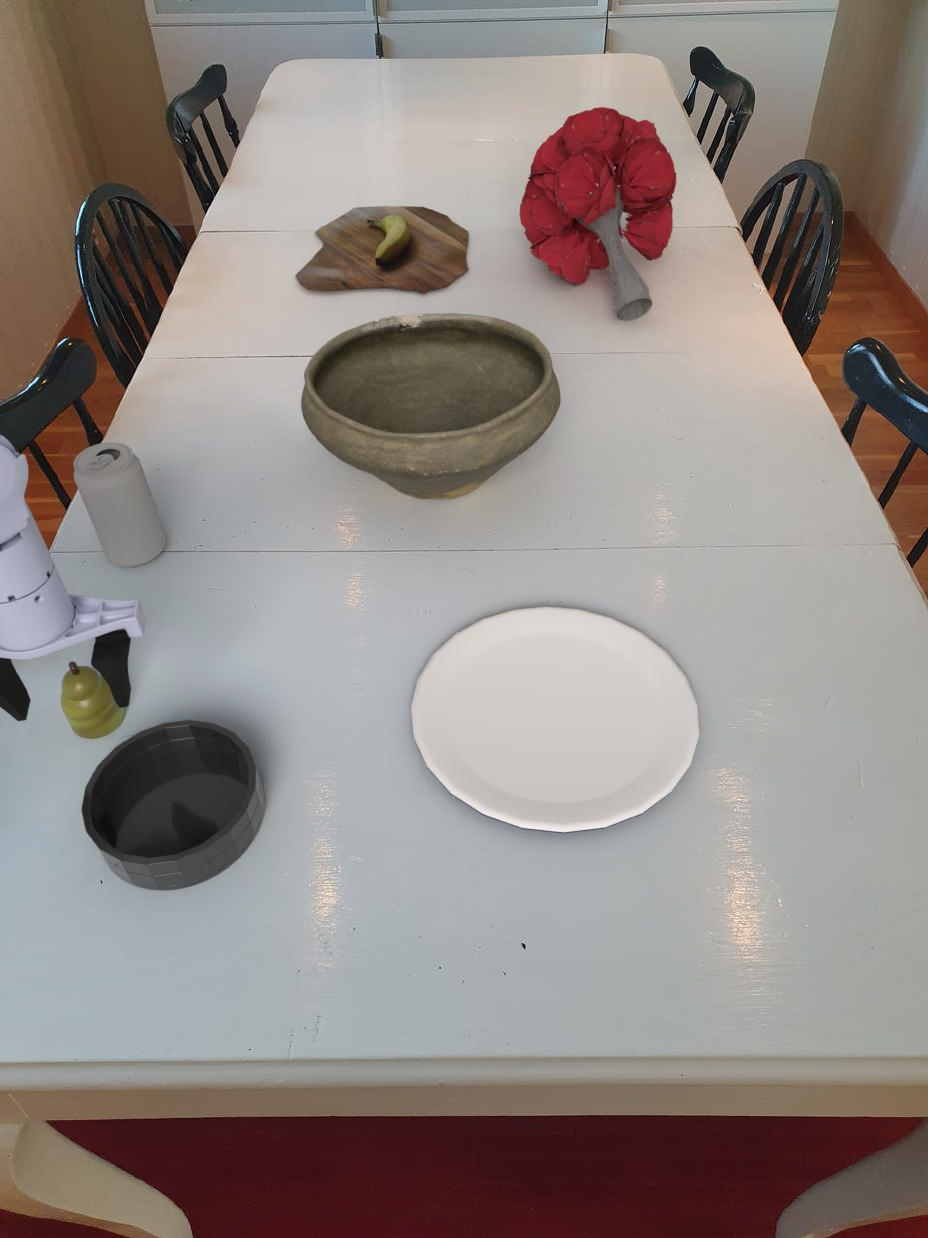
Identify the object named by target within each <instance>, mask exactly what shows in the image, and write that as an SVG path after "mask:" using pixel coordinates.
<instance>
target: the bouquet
mask: <svg viewBox="0 0 928 1238" xmlns="http://www.w3.org/2000/svg"><path fill="white" fill-rule="evenodd" d="M655 125H656V124H655V123H654V122H651V121H649V120H648V119H643V120H640V121H638V120H637V119H635V118H632V117H630V116H627V115H625V114H622V113H620V112H619V111H618V110H617V109H614V108H610V107H605V106H600V107H593V108H592V109H587V110H583V111H581V112H578V113H574V114H572V115H569V116H567V119H565V121H564V123H563V124H562V126H561V127H560V128H559V129H557V130H556V132H553V134H550V135H549V136H548V138H547V139H546V140H545V141H543V142H542V143H541V145H540V146H539V147H538V148H537V150H536V152H535V154H534V157H533V159H532V160H533V161H532V163H531V165H530V173H529V175H528V177H527V179H528V181H527V183H526V184H525V187H524V189H525V190H524V193H523V196H522V198H521V203H520V204H519V221H520V225H521V226H522V227H523V228H524V230H525V231H524V235H525V237H526V240H527V241H528V242H529V243H530V244H531V246H530V247H529V250H530V253H531V255H532V256H533V257H534V258H535V259H537V260H539V261H540V260H541V262H542V263H544V264H545V265H546V266H547V268H548V270H550V272H552V273H553V274H554V275H556V276H559V277H560V278H561V279H563V280H565V281H567V282H569V283H572V284H573V285H575V286H579V285H581V284H584V283H585V282H586V281H587V279H588V277H589V275H590V270H604V269H607V268H608V267H609V272H610V287H611V295H612V301H613V306H614V307H615V310H616V313H617V318H618V319H620V320H622V321H632V320H634V319H638V318H640V317H642V316H643V315H645V314H646V313H648V312H649V311H650V309H651V308H652V306H653V301H652V298H651V296H650V291H649V289H648V287H647V285H646V284H645V282H644V280H643V279H642V277H641V275H640V274H639V272H638V270H637V269H636V268H635V266H634V265H633V264H632V263H631V261H630V259H629V258H628V256H627V254H626V252H625V251H624V248H623V245H622V241H621V239H622V240H624V238H625V239H626V241H627V242H628V245H630V246H631V247H632V248H633V249H634V250H636V251H637V252H638V253H639V254H640V255H641V256H642V257H643V258H645V259H646V260H647V261H651V262H652V261H653V260H658V259H661V258H662V256H663V253H664V251H665V249H666V248H667V247H668V243H669V241H670V239H671V237H672V234H673V230H674V229H673V228H674V226H673V225H674V224H673V219H674V218H673V211H674V207H673V204H672V200H673V199H674V196H673V195H674V194H675V190H676V186H677V172H676V171H675V163H674V160H673V158H672V156H671V153H670V152H668V148H667V147H666V146H665V144H664V143H663V142H662V141H661V138H660V136H659V135H658V134H657V128H656V127H655ZM623 213H625V214H627V215H626V218H624V220H625V221H626V222H627V223H625V225H624V227H625V229H622V227H621V218H622V215H623Z"/></svg>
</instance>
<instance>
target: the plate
mask: <svg viewBox="0 0 928 1238" xmlns="http://www.w3.org/2000/svg"><path fill="white" fill-rule="evenodd" d="M410 715H411V722H412V731H413V732H412V733H413V739H414V741H415V744H416V746H417V748H418V750H419V752H420V755H421V757H422V759H423V762H424V763H425V765H426V768H427V769H428V770H429V771H430V772H431V774H432V775H433V776H434V777H435V778H436V779H437V780H438V782H439V783H440V784H441V785H442V786H443V787H444V788H445V789H446V790H447V792H448V793H449V794H450V795H451V796H453V797H455V798H456V799H458V800H459V801H460V802H462V803H464V804H465V805H466V806H468V807H469V808H471V809H473V810H474V811H476V812H477V813H479V814H481V815H482V816H484V817H486V818H490V819H493V820H495V821H499V822H501V823H503V824H507V825H510V826H513V827H515V828H518V829H521V830H529V831H537V832H538V831H539V832H547V833H557V834H570V833H571V834H572V833H580V832H586V831H595V830H603V829H608V828H610V827H613V826H615V825H617V824H620V823H623V822H625V821H628V820H631V819H633V818H636V817H638V816H641V815H643V814H645V813H646V812H648V811H649V810H650V809H651V808H652V807H654V806H655V805H656V804H658V803H659V802H661V801H662V800H663V799H665V798H666V797H667V796H669V795H670V794H671V793H672V792H673V790H674V789H675V788H676V786H677V785H678V784H679V782H680V781H681V779H682V778H683V776H684V775H685V774H686V773H687V771H688V770H689V768H690V767H691V765H692V761H693V758H694V755H695V751H696V748H697V745H698V741H699V738H700V724H699V706H698V703H697V701H696V698H695V695H694V693H693V690H692V687H691V684H690V683H689V680H688V678H687V676H686V674H685V673H684V672H683V670H681V668H680V667H679V666H678V664H677V663H676V662H675V660H674V659H673V658H672V657H671V656H670V654H669V652H667V651H666V650H664V649H663V648H662V647H661V646H659V645H658V644H657V643H656V642H655V641H653V640H652V639H651V638H650V637H648V636H647V635H646V634H644V633H643V632H642V631H640V630H637V629H635V628H633V627H632V626H629V625H628V624H626V623H623V622H621V621H619V620H617V619H615V618H613V617H610V616H606V615H603V614H600V613H595V612H591V611H587V610H585V609H580V608H571V607H560V606H549V605H548V606H536V607H526V608H515V609H510V610H507V611H505V612H500V613H498V614H494V615H491V616H488V617H485V618H481V619H479V620H478V621H476V622H474V623H472V624H470V625H469V626H467V627H465V628H463V629H461V630H459V631H458V632H456V633H454V634H453V635H452V636H451V637H450V638H449V639H447V640H446V641H445V643H443V644H442V645H441V646H440V647H439V648H438V649H437V650H436V651H435V652H434V653H433V654H431V656H430V658H429V660H428V661H427V663H426V664H425V666H424V667H423V669H422V671H421V672H420V675H418V678H417V680H416V684H415V688H414V693H413V696H412V701H411V706H410Z"/></svg>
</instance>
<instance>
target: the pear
mask: <svg viewBox="0 0 928 1238" xmlns="http://www.w3.org/2000/svg"><path fill="white" fill-rule="evenodd" d="M68 667H69V669H68V670H67V671H66V672H65V674H64V676H63V677H62V679H61V694H60V708H61V710H62V712H63V714H64V717H65V718H66V720H67V721H68V723H69V726H70V727H71V729H72V731H73V733H75V734H76V735H77V736H79V737H80V738H83V739H90V740H93V739H99V738H102V737H105V736H108V735H110V734H111V733H113V732H114V731H115V730H117V729H118V728H119V727H120V726H121V724H122V723H123V722H124V719H125V715H126V709H125V707H122V708H119V706H118V705H117V704H116V702H115V700H114V698H113V695H112V693H111V690H110V688H109V686H108V684H107V682H106V681H105V679H104V678H103V677H102V675H101V674H100V673H99V672H98V671H97V670H96V669H95V668H93V667H91V666H87V665H77V662H75V661H73V660H71V661H70V662H69V663H68Z"/></svg>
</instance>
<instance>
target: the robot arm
mask: <svg viewBox="0 0 928 1238" xmlns="http://www.w3.org/2000/svg"><path fill="white" fill-rule="evenodd" d="M28 482H29V464H28V460H27V457H26V454H23V453H21V454H20V452H18V451H16V449H15V447H14V446H13V444H12V443H11V442H10V440H8V439H7V438H6V437H5V436H4V435H2V434H0V708H1V710H4V712H6V713H7V714H8V715H10V717H12V718H13V719H14V720H16V721H17V722H24V721H27V718H28V715H29V714H28V713H29V709H30V706H31V705H30V704H31V698H30V694H29V692H28V689H27V688H26V685H25V684H24V682H23V680H22V678H21V677H20V675H19V674H18V671H17V669H16V667H15V666H14V664H13V660H17V661H27V660H33V659H38V658H42V657H44V656H47V655H51V654H53V653H56V652H58V651H61V650H64V649H67V648H69V647H70V648H71V647H73V646H75V645H78V644H81V643H84V642H87V641H90V640H92V639H95V640H94V644H93V648H92V654H91V660H90V664H91V666H92V667H91V668H93V669H95V670H96V671H97V672H98V673H99V675H102V677H103V678H104V679H105V681H106V682H107V684H108V686H109V688H110V690H111V693H112V695H113V698H114V700H115V702H116V704H117V705H118V706H119V708H122V707H124V708H128V707H129V706H130V701H131V693H132V686H131V681H130V675H129V657H130V656H129V655H130V649H131V642H132V638H139V637H140V638H141V637H144V635H145V630H146V629H145V628H146V622H147V621H146V620H147V619H146V618H147V617H146V614H145V611H144V609H143V606H142V604H141V601H140V599H124V600H123V599H110V598H102V597H94V596H86V595H79V594H70V593H68V591H67V589H66V587H65V584H64V582H63V580H62V578H61V575H60V574H59V571H58V569H57V567H56V564H55V562H54V560H53V557H52V556H51V555H52V554H51V553H50V551H49V549H48V546H47V544H46V542H45V540H44V538H43V535H42V532H41V531H40V528H39V526H38V524H37V522H36V519H35V518H34V515H33V513H32V510H31V508H30V507H29V505H28V503H27V502H26V499H25V494H26V489H27V485H28Z"/></svg>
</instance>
